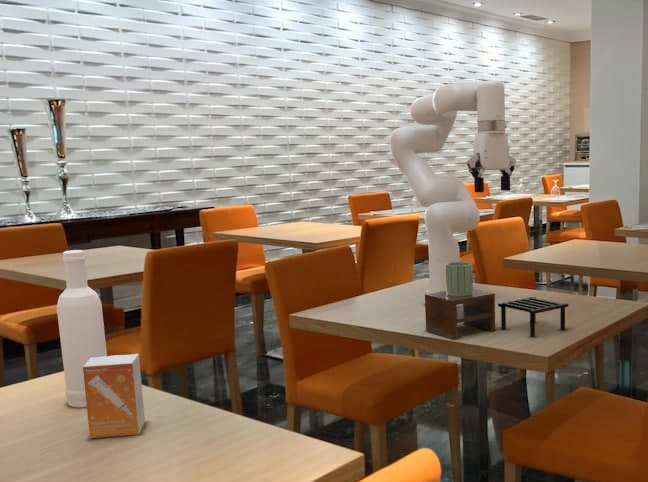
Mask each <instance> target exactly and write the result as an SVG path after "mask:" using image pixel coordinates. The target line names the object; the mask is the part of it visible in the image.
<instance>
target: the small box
mask: <svg viewBox="0 0 648 482" xmlns="http://www.w3.org/2000/svg"><path fill="white" fill-rule="evenodd" d="M83 374H84V384H85V394H86V404H87V407H86V414H87V421H88V432H89V438H90V439H97V438H98V439H99V438H109V437H121V436H123V437H124V436H133V435H134V436H138V435H140V433H141V431H142V429H143V426H144V425H145V423H146V417H145V416H146V415H145V405H144V396H143V395H144V394H143V385H142V374H141V363H140V353H131V354H115V355H114V354H113V355H107V356H105V357H91V358H90V359H89V360H88V361H87V363H86V364H85V365H84V366H83Z"/></svg>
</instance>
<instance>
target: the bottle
mask: <svg viewBox="0 0 648 482" xmlns="http://www.w3.org/2000/svg"><path fill="white" fill-rule="evenodd" d="M62 262H63V268H64V275H65V286H66V288H65V289H64V291H62V292H61V294H60V295H59V296H58V299H57V304H56V314H57V322H58V330H59V331H58V332H59V338H60V348H61V356H62V364H63V365H62V366H63V375H64V381H65V382H64V383H65V396H66V399H67V405H68V406H70V407H72V408H81V409H82V408H87V404H86V394H85V384H84V374H83V366H84V365H85V364H86V363H87V361H88V360H89V359H90V358H91V357H105V356H108V353H107V342H106V333H105V324H104V315H103V307H102V306H103V305H102V301H101V299H100V297H99V295H98V293H97V292H96V291H95V290H93V289H92V288H91V287H90V286H89V285H88V277H87V268H86V256H85V251H84V250H82V249H72V250H64V251H63V252H62Z"/></svg>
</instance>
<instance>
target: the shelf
mask: <svg viewBox="0 0 648 482" xmlns="http://www.w3.org/2000/svg"><path fill="white" fill-rule="evenodd" d="M459 304H463V306H459V307H457V305H459ZM424 309H425V310H424V311H425V332H426V333H427V332H428V333H430V334H434V335H437V336H441V337H444V338H447V339H450V340H457V339H458V324H461V323H463V324H464V325H466V326H467V325H468V326H471V327H474V328H478V329H482V330H486V331H490V332H495V331H496V293H495V292H489V291H484V290H479V289H475V288H473V294H472V295H468V296H449V295H447V291H442V292H436V293H430V294H424Z"/></svg>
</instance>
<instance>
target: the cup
mask: <svg viewBox="0 0 648 482" xmlns="http://www.w3.org/2000/svg"><path fill="white" fill-rule="evenodd" d="M473 275H474V270H473V263H472V262H469V261H460V262H451V263H447V264H446V291H447V295H449V296H468V295H472V294H473V289H474V285H473V284H474V280H473V279H474V278H473V277H474V276H473Z"/></svg>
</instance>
